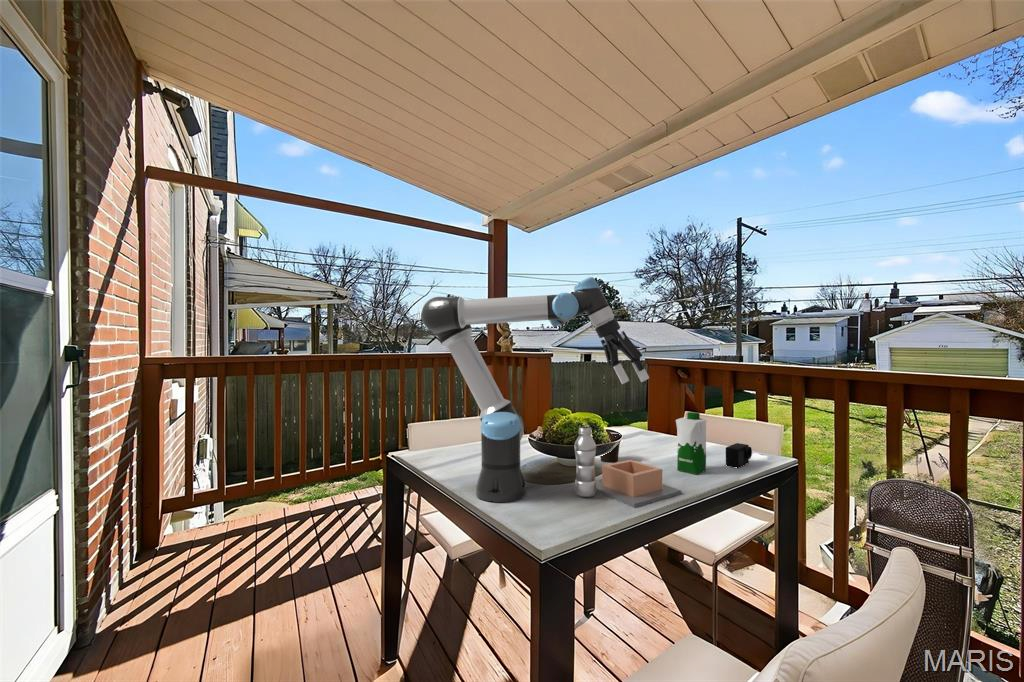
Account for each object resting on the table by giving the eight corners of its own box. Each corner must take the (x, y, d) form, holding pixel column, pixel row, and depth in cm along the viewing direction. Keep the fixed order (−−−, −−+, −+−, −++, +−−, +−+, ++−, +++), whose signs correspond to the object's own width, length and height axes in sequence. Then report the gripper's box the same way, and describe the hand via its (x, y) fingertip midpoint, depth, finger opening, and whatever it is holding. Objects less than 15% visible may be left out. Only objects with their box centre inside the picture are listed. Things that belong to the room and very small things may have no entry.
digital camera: (741, 469, 151) (741, 449, 151) (725, 466, 155) (725, 447, 155) (752, 464, 158) (752, 445, 158) (736, 461, 162) (736, 442, 162)
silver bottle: (600, 494, 127) (599, 426, 127) (592, 501, 121) (591, 430, 121) (579, 490, 130) (579, 424, 130) (570, 497, 124) (570, 428, 124)
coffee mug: (615, 464, 158) (614, 437, 158) (593, 461, 163) (593, 434, 163) (627, 458, 167) (627, 432, 167) (606, 454, 172) (606, 430, 172)
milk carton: (709, 470, 150) (708, 413, 150) (698, 476, 144) (697, 416, 144) (685, 465, 156) (684, 410, 156) (673, 470, 150) (672, 413, 150)
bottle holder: (634, 507, 116) (634, 481, 116) (584, 487, 133) (584, 464, 133) (681, 493, 127) (681, 470, 127) (630, 476, 144) (629, 455, 144)
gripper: (631, 309, 128) (664, 373, 127) (599, 324, 152) (627, 378, 151) (611, 320, 126) (644, 384, 125) (582, 333, 150) (609, 388, 149)
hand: (635, 381), depth 138 cm, fingers open, 13 cm apart
